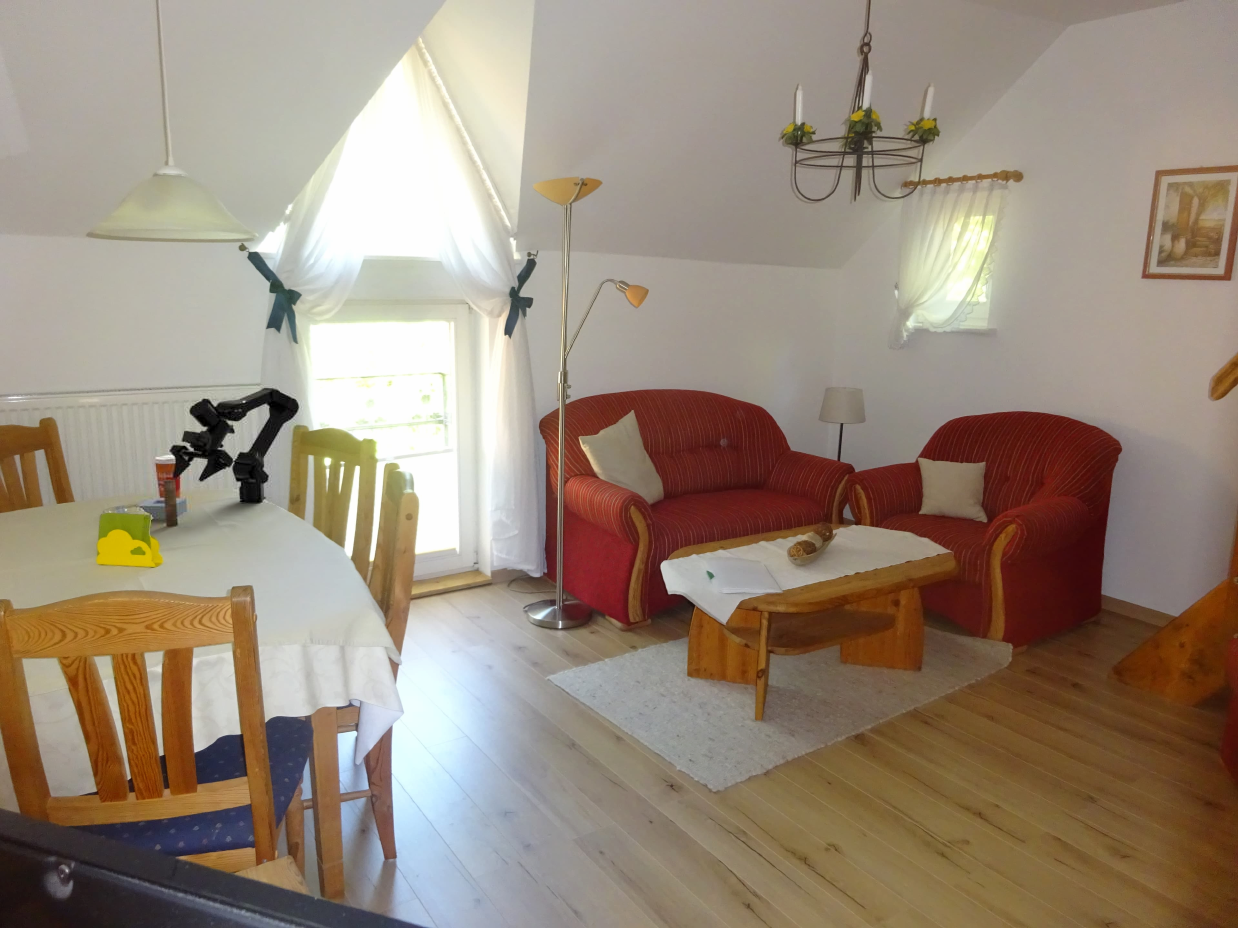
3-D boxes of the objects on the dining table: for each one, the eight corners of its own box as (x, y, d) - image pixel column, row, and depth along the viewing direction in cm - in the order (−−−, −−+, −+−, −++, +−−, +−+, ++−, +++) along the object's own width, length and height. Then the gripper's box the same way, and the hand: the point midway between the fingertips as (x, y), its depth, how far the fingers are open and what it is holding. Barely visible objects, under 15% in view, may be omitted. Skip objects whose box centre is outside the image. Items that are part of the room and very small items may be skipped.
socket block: (187, 510, 257) (186, 498, 256) (173, 519, 247) (172, 506, 246) (152, 510, 256) (151, 497, 255) (137, 519, 246) (136, 505, 245)
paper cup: (150, 501, 266) (147, 458, 263) (170, 496, 273) (167, 454, 271) (170, 504, 264) (167, 460, 261) (189, 499, 271) (187, 456, 268)
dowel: (179, 523, 243) (176, 479, 241) (175, 526, 240) (172, 482, 238) (168, 523, 243) (165, 479, 240) (164, 526, 240) (161, 481, 238)
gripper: (172, 417, 250) (144, 460, 242) (224, 422, 245) (197, 466, 236) (194, 440, 259) (167, 482, 250) (244, 445, 253) (219, 488, 245)
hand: (187, 479), depth 245 cm, fingers open, 9 cm apart
